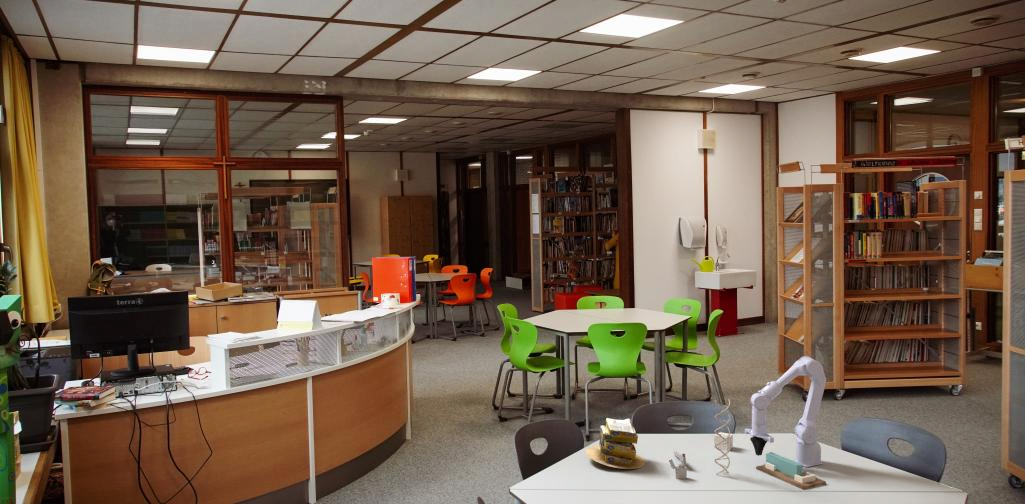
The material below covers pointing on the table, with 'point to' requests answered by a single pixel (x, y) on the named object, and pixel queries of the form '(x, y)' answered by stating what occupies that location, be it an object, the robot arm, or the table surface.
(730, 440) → the beige cube
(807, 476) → the end caps
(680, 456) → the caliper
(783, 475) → the walnut board
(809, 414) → the robot arm
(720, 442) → the dna model
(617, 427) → the stacked boxes on plate
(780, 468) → the slat
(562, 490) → the table surface
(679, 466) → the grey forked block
